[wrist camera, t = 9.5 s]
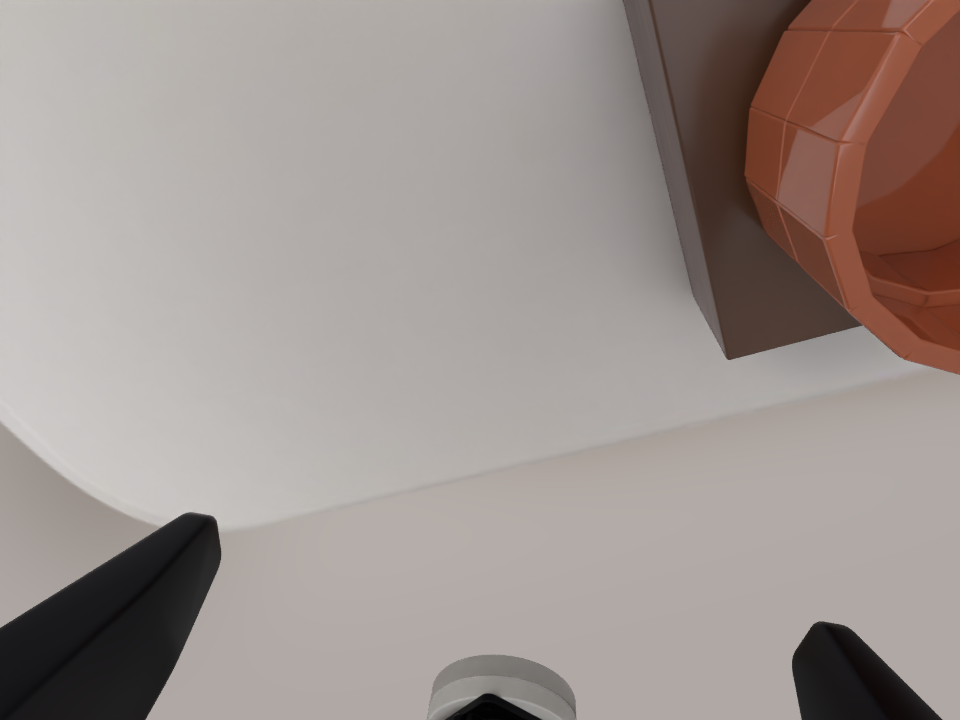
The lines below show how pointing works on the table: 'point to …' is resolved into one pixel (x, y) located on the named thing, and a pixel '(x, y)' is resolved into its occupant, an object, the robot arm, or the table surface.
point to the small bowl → (868, 164)
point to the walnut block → (724, 167)
